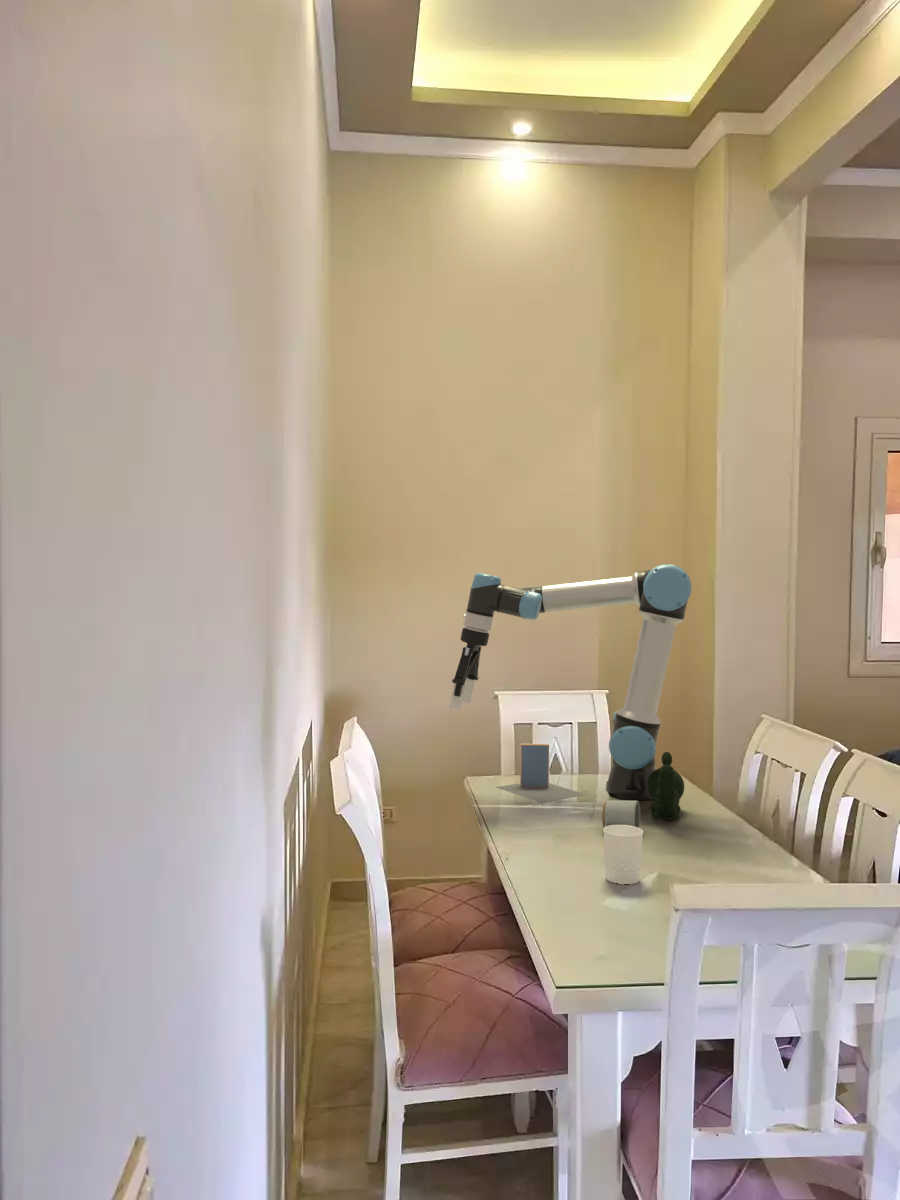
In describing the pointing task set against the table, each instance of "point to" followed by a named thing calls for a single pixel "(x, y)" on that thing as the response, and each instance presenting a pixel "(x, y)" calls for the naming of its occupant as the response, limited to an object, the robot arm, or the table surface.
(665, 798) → the toy figurine
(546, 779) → the tile
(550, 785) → the mat
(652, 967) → the table surface
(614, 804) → the ceramic mug
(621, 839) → the white cup
